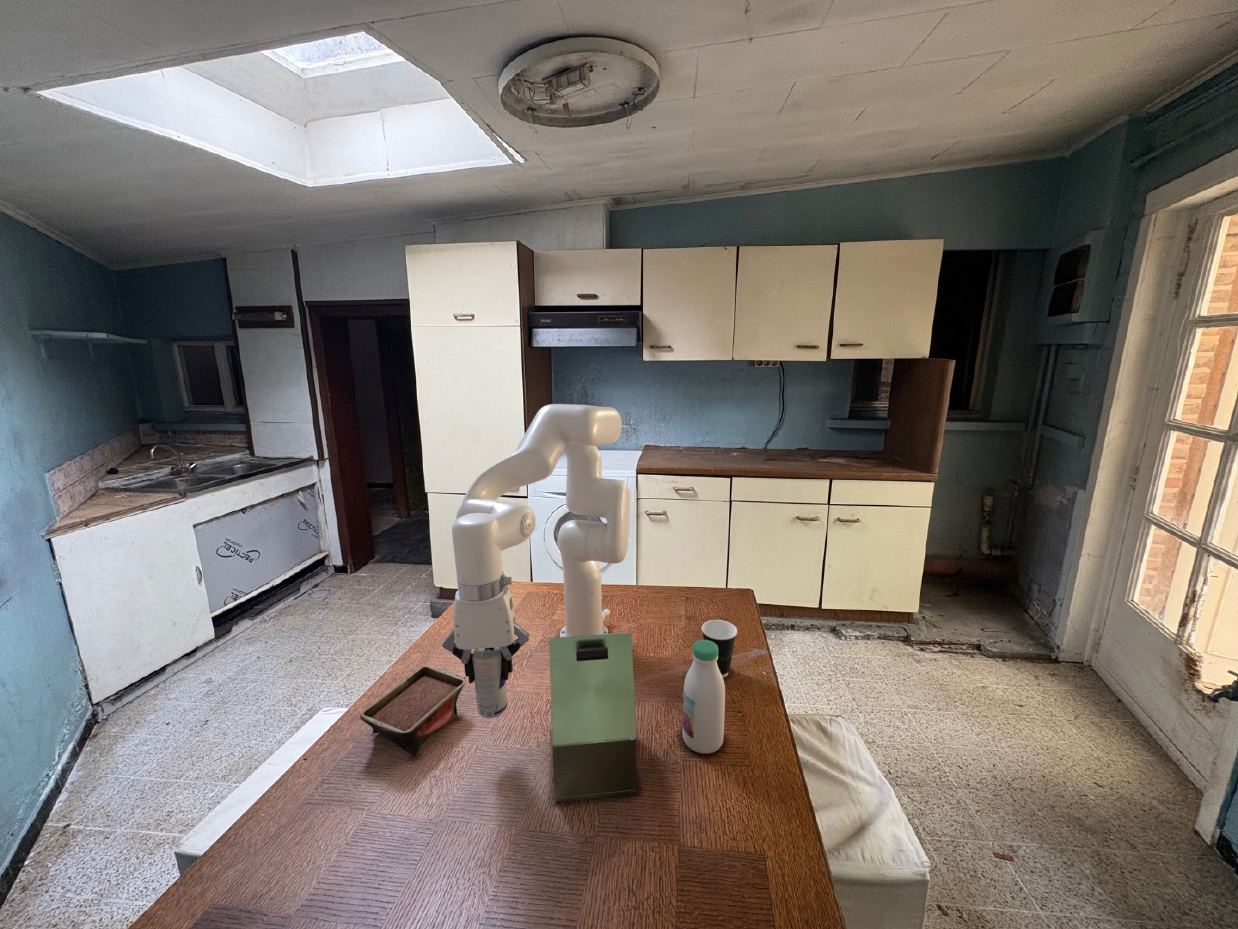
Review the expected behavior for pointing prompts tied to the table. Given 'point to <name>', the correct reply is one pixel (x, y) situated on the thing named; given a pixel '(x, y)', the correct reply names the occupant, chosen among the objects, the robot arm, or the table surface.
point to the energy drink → (489, 682)
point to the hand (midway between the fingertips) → (489, 676)
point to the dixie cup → (721, 641)
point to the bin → (594, 769)
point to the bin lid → (592, 688)
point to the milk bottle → (704, 700)
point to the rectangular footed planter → (415, 707)
